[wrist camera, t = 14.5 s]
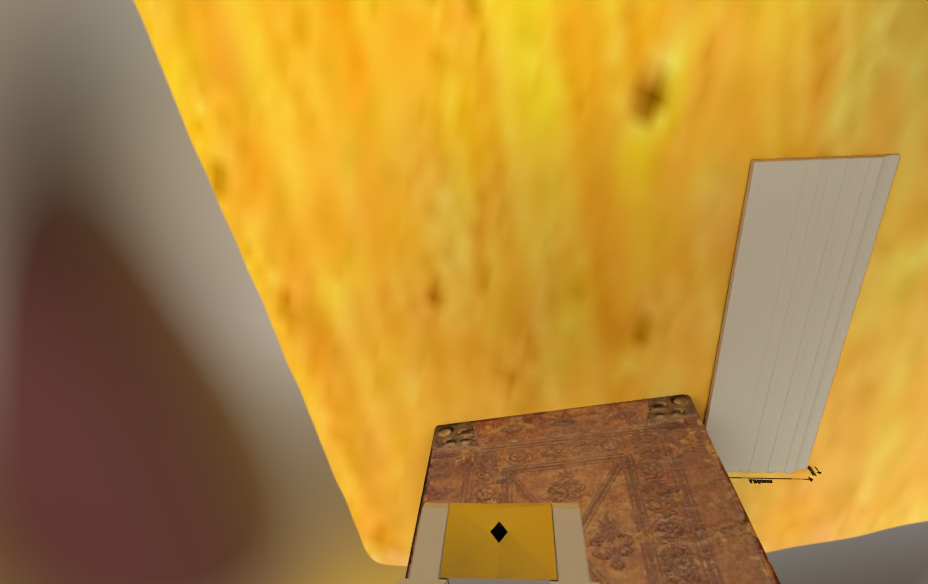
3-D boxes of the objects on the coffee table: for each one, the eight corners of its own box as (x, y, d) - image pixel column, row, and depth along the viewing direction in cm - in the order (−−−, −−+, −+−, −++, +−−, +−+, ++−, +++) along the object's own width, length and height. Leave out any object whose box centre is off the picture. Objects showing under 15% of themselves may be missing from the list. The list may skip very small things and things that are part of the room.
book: (691, 393, 50) (895, 806, 24) (694, 465, 54) (874, 892, 27) (434, 425, 55) (359, 805, 28) (454, 490, 58) (405, 879, 32)
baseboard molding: (913, 151, 40) (746, 157, 41) (941, 159, 37) (762, 166, 38) (816, 463, 53) (693, 460, 55) (832, 485, 51) (702, 482, 52)
